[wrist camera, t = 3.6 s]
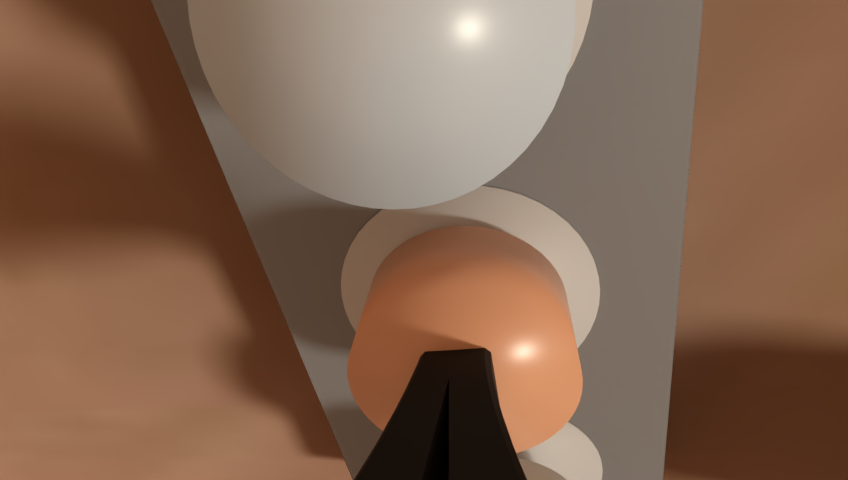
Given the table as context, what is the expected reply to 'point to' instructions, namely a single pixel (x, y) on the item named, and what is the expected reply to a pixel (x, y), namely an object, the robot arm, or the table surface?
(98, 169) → the table surface
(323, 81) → the light grey button
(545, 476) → the cream button
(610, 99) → the console
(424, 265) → the terracotta button
